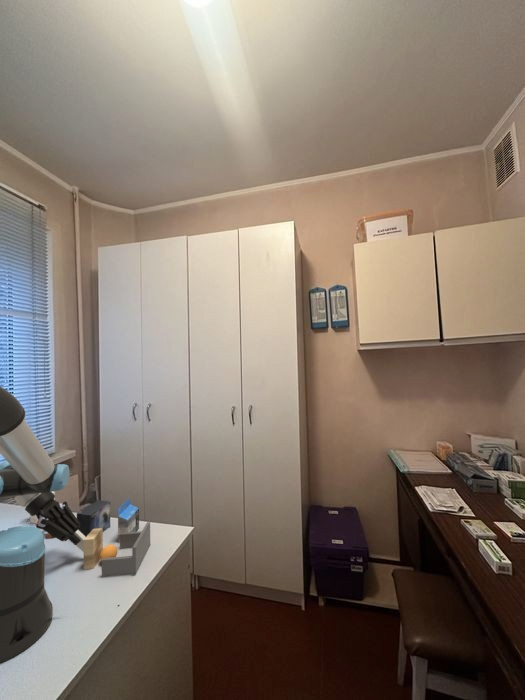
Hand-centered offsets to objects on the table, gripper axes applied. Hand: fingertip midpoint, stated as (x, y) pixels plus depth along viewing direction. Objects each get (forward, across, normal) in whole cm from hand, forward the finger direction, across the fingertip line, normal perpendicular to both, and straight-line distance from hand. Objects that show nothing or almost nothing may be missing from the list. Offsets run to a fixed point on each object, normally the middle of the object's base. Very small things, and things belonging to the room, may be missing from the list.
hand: (87, 547), depth 94 cm
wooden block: (+5, +2, 0) cm, 5 cm away
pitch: (+8, +2, +2) cm, 8 cm away
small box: (0, -15, -7) cm, 17 cm away
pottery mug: (-10, -19, -17) cm, 27 cm away
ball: (+5, +2, +2) cm, 6 cm away
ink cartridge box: (-18, -29, -26) cm, 43 cm away
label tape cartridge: (+9, -12, +4) cm, 16 cm away
